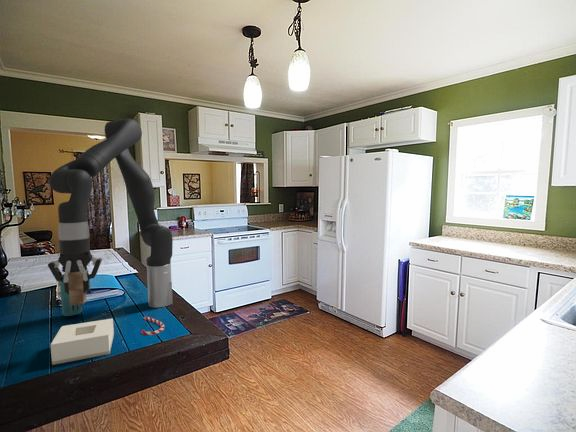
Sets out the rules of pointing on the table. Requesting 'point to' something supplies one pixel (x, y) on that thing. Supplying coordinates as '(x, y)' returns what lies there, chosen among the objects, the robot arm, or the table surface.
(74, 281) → the peg
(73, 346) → the socket block
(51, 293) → the table surface
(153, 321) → the candy cane
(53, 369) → the table surface
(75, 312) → the beverage bottle
